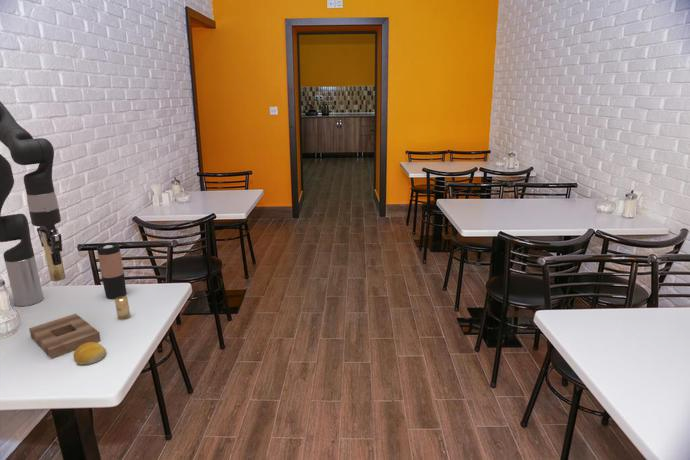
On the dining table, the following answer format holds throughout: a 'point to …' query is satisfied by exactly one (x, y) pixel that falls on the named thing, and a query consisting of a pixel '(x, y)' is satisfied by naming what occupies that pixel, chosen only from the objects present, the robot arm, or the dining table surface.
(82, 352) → the bread roll
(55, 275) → the tall pin
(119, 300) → the short pin
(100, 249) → the travel mug
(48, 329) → the hole board
